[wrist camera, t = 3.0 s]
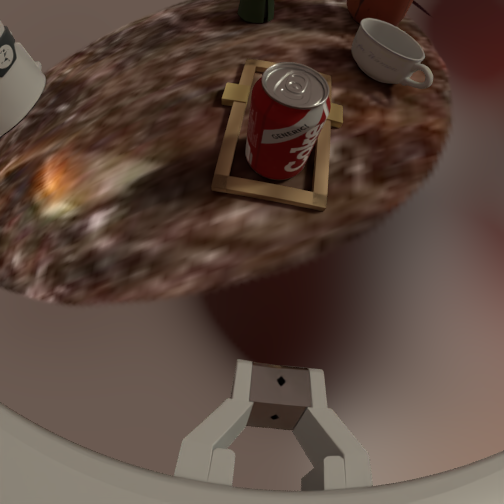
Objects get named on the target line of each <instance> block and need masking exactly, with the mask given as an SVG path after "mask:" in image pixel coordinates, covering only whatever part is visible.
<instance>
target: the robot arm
mask: <svg viewBox="0 0 504 504" xmlns="http://www.w3.org/2000/svg"><path fill="white" fill-rule="evenodd" d="M44 86H45V76H44V74H43V73H42V72H41V64H40V62H38V61H37V62H34V61H33V59H32V58H31V57H30V56H29V54H28V53H27V51H26V50H25V49H24V48H23V46H22V45H21V44H20V43H15V39H14V38H13V36H12V33H11V31H10V30H9V29H8V28H7V26H3V24H2V23H1V21H0V137H1V136H2V135H3V134H4V133H6V132H7V131H9V130H10V129H11V128H13V127H14V126H15V125H16V124H17V123H18V122H19V121H20V120H21V119H22V118H23V117H24V116H25V115H26V114H27V113H28V112H29V111H30V110H31V108H32V107H33V106H34V104H35V103H36V102H37V100H38V99H39V97H40V95H41V93H42V91H43V89H44ZM246 426H251V427H262V428H274V429H283V430H293V431H292V432H293V434H294V435H295V437H296V439H297V440H298V442H299V444H300V445H301V447H302V448H303V450H304V452H305V453H306V455H307V457H308V458H309V460H310V462H311V463H312V465H313V466H314V468H313V469H312V470H311V471H310V472H309V473H308V474H306V475H305V476H304V477H303V478H302V479H301V491H280V490H262V489H250V488H240V487H232V480H233V471H234V462H235V453H234V452H233V451H232V450H230V449H227V448H228V447H229V446H230V444H231V443H232V442H233V441H234V440H235V438H237V437H238V435H239V434H240V433H241V432H242V431H243V429H244V428H245V427H246ZM0 504H504V451H502V452H499V453H497V454H494V455H492V456H489V457H487V458H484V459H481V460H479V461H476V462H473V463H471V464H468V465H464V466H462V467H458V468H455V469H452V470H448V471H445V472H441V473H438V474H434V475H430V476H426V477H421V478H417V479H412V480H407V481H403V482H398V483H391V484H385V485H378V486H373V485H372V476H371V467H370V459H369V453H368V452H367V451H366V450H365V448H364V447H363V446H362V445H361V444H360V443H359V441H358V440H357V439H356V438H355V437H354V435H353V434H352V433H351V432H350V431H349V429H348V428H347V427H346V426H345V425H344V423H343V422H342V421H341V420H340V419H339V417H338V416H337V415H336V414H335V412H334V411H333V410H332V409H331V408H327V399H326V389H325V380H324V372H323V370H321V369H310V368H303V367H292V366H282V365H280V366H277V365H271V364H264V363H258V362H252V361H246V360H240V359H238V360H237V364H236V369H235V374H234V379H233V385H232V391H231V397H230V399H229V398H227V399H226V400H225V401H224V402H223V403H222V404H221V405H220V406H219V407H218V408H217V409H216V410H215V411H214V412H212V414H210V415H209V416H208V417H207V418H206V419H205V420H204V421H203V422H202V423H201V424H200V425H199V426H197V427H196V428H195V429H194V430H193V431H192V432H191V433H190V434H189V435H187V436H186V437H185V438H184V439H183V440H182V445H181V449H180V453H179V457H178V461H177V466H176V470H175V474H174V476H171V475H167V474H163V473H159V472H155V471H152V470H148V469H145V468H141V467H138V466H134V465H131V464H128V463H125V462H122V461H119V460H117V459H114V458H111V457H108V456H106V455H103V454H100V453H98V452H95V451H93V450H90V449H87V448H85V447H83V446H81V445H78V444H76V443H74V442H72V441H69V440H67V439H65V438H63V437H61V436H59V435H57V434H54V433H53V432H51V431H49V430H47V429H45V428H43V427H41V426H39V425H37V424H36V423H34V422H32V421H30V420H29V419H27V418H25V417H23V416H22V415H20V414H18V413H17V412H15V411H13V410H11V409H10V408H8V407H7V406H5V405H4V404H2V403H1V402H0Z"/></svg>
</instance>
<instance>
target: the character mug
mask: <svg viewBox="0 0 504 504" xmlns="http://www.w3.org/2000/svg"><path fill="white" fill-rule="evenodd" d="M237 14H238V15H239V16H240V17H241V18H242V19H244V20H245V21H248V22H252V23H263V20H264V18H265V17H268V21H271V20H272V19H273V17H274V0H240V4H239V8H238V13H237Z"/></svg>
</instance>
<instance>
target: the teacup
mask: <svg viewBox="0 0 504 504" xmlns="http://www.w3.org/2000/svg"><path fill="white" fill-rule="evenodd" d="M352 55H353V58H354V60H355V61H356V63H357V64H358V66H359V67H360V69H361V70H362V71H363V72H364V73H365V74H367V75H368V76H369V77H371V78H373V79H375V80H377V81H379V82H382V83H392V84H398V83H401V84H402V85H405V86H406V85H409V86H412V87H415V88H419V89H424V88H427V87H429V86H430V85H431V84H432V82H433V75H432V72H431V70H430V69H429V68H428V67H427V66H425V65H423V64H420V62H421V61H422V60H423V59H424V58H425V54H424V51H423V49H422V48H421V47H420V45H419V44H418V43H417V42H416V41H415V40H414V39H413V38H412V37H411V36H409V35H408V34H407V33H405V32H404V31H402V30H401V29H399V28H397V27H395V26H394V25H392V24H389V23H387V22H384V21H381V20H377V19H372V18H366V19H363V20H361V22H360V27H359V29H358V31H357V33H356V36H355V38H354V41H353V44H352ZM417 70H421V71H423V72H424V74H425V76H426V79H425V82H423V83H419V82H415V81H413V80H411V79H409V77H410V76H411V75H412V74H413V72H416V71H417Z"/></svg>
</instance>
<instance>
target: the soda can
mask: <svg viewBox="0 0 504 504" xmlns="http://www.w3.org/2000/svg"><path fill="white" fill-rule="evenodd" d="M330 109H331V103H330V98H329V85H328V83H327V81H326V80H325V78H324V77H323V76H322V75H321V74H320V73H319V72H317V71H316V70H314V69H313V68H311V67H308V66H306V65H303V64H299V63H294V62H282V63H277V64H274V65H272V66H270V67H268V68H267V69H266V70H265V71H264V73H263V75H262V77H261V78H260V79H259V80H258V81H257V82H256V83H255V85H254V87H253V90H252V97H251V105H250V114H249V123H248V132H247V141H246V150H245V154H246V159H247V162H248V164H249V165H250V167H251V168H252V169H253V170H254V171H255V172H256V173H257V174H259V175H261V176H263V177H265V178H267V179H271V180H286V179H290V178H292V177H294V176H296V175H297V174H299V173H300V172H301V170H302V169H303V167H304V165H305V163H306V161H307V159H308V157H309V155H310V153H311V151H312V149H313V147H314V145H315V142H316V140H317V138H318V136H319V134H320V132H321V130H322V128H323V126H324V123H325V121H326V119H327V117H328V115H329V112H330Z"/></svg>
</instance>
